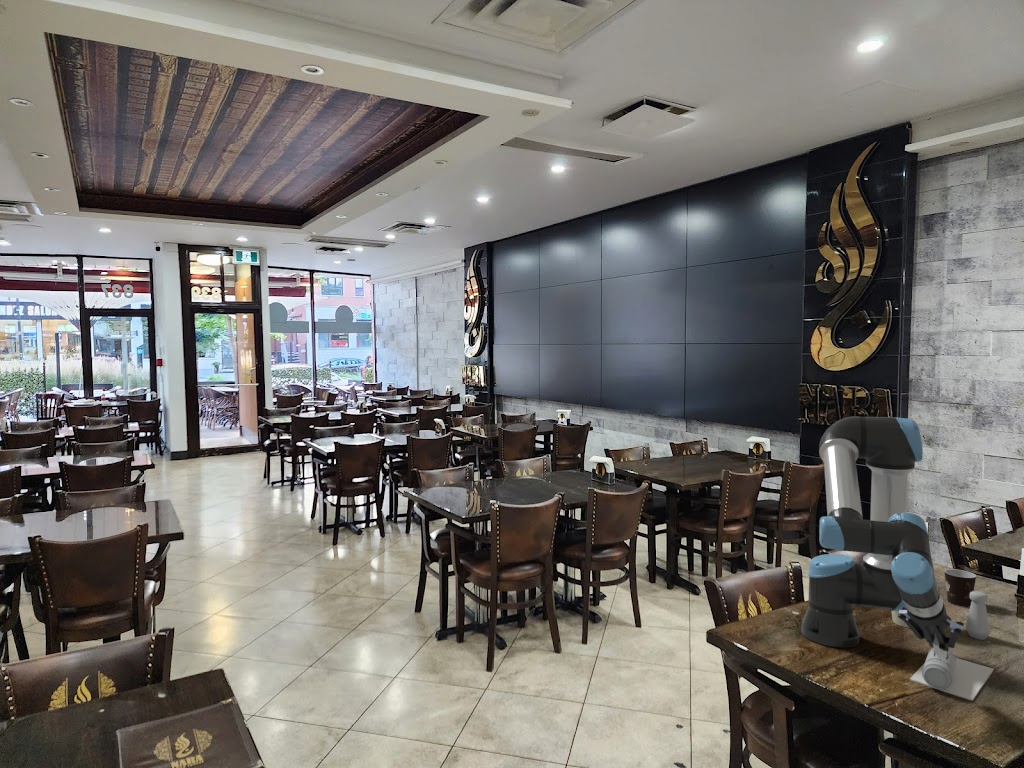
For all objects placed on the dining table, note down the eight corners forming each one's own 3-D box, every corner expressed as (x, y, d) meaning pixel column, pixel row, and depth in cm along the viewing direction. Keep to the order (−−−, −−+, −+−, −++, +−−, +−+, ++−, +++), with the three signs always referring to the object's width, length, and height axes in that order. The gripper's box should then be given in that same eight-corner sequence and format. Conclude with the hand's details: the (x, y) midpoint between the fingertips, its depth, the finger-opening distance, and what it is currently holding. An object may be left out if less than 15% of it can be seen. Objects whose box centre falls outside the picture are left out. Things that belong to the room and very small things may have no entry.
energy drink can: (923, 661, 154) (930, 640, 166) (920, 684, 155) (927, 662, 167) (952, 670, 151) (958, 648, 162) (949, 695, 151) (955, 671, 163)
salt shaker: (994, 642, 180) (995, 597, 180) (971, 640, 181) (972, 595, 181) (983, 633, 186) (984, 589, 186) (961, 631, 187) (962, 588, 187)
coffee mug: (944, 596, 215) (945, 567, 215) (976, 602, 210) (977, 572, 210) (941, 606, 206) (942, 576, 206) (973, 613, 201) (974, 582, 201)
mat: (972, 700, 149) (972, 699, 149) (909, 680, 158) (909, 678, 158) (993, 670, 164) (993, 668, 164) (934, 653, 173) (934, 651, 173)
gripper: (887, 609, 145) (908, 658, 156) (954, 627, 135) (971, 677, 147) (895, 581, 148) (915, 630, 160) (961, 596, 138) (978, 648, 150)
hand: (942, 653), depth 153 cm, fingers closed
